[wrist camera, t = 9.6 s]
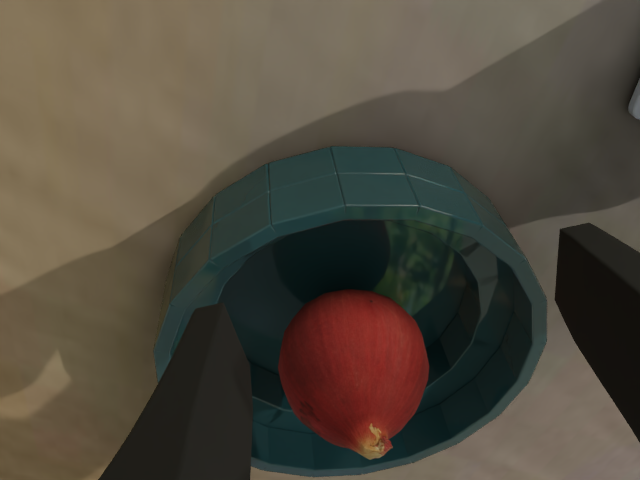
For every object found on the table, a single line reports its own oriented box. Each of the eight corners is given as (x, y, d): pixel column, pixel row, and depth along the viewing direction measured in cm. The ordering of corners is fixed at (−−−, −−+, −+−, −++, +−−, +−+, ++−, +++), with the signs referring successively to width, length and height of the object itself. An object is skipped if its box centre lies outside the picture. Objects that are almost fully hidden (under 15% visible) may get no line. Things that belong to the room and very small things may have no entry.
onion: (359, 357, 28) (393, 517, 22) (253, 323, 26) (255, 489, 20) (429, 274, 25) (490, 430, 19) (316, 229, 23) (342, 387, 17)
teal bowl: (550, 144, 22) (607, 207, 19) (463, 393, 31) (491, 468, 28) (152, 134, 21) (132, 202, 17) (181, 403, 30) (171, 484, 26)
